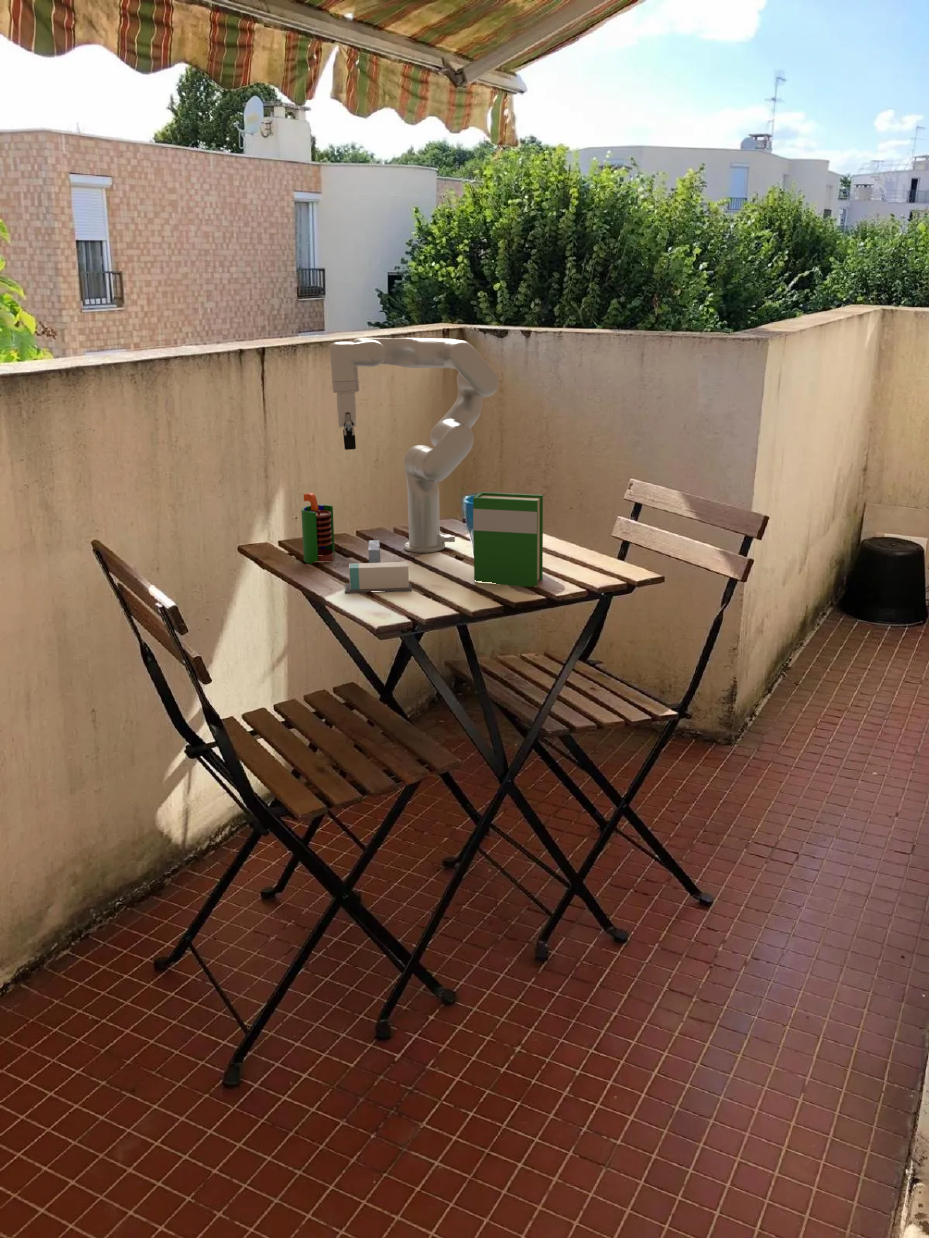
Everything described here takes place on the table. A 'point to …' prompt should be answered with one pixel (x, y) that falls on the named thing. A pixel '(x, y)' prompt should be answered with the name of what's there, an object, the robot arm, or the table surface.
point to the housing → (374, 551)
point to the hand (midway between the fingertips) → (349, 446)
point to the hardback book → (508, 538)
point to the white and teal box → (378, 575)
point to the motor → (317, 531)
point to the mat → (347, 589)
